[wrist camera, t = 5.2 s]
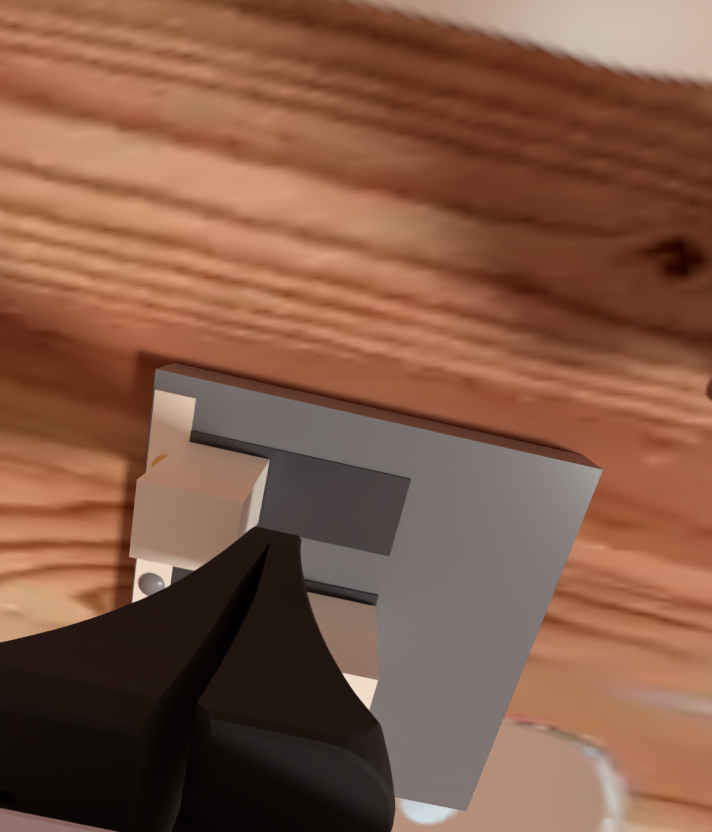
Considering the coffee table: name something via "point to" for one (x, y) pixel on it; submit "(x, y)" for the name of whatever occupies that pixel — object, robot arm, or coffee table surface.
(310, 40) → the coffee table surface
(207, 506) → the tab
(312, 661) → the robot arm
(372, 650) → the tab
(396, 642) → the switch bank
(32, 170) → the coffee table surface
